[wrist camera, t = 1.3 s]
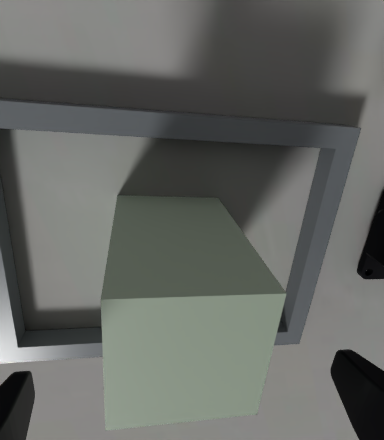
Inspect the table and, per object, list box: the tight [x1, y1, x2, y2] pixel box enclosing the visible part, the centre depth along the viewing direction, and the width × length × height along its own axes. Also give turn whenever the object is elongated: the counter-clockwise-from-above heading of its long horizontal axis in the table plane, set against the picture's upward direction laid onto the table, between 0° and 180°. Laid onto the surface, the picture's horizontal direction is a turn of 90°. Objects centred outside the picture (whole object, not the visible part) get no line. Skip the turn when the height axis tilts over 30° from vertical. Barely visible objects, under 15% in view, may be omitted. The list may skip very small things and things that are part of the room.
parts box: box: [101, 195, 286, 431], centre depth 13 cm, size 5×5×8 cm
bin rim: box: [0, 98, 361, 363], centre depth 16 cm, size 17×13×1 cm
